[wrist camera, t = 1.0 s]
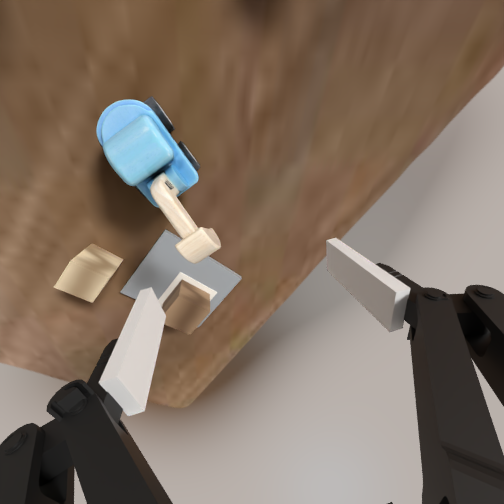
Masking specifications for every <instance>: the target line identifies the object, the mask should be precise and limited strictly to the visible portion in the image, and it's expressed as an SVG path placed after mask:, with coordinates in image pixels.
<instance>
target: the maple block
mask: <svg viewBox="0 0 504 504" xmlns="http://www.w3.org/2000/svg"><path fill="white" fill-rule="evenodd" d="M123 260H124V259H122V258H120V257H118V256H116V255H114V254H112V253H110V252H108V251H106V250H104V249H102V248H100V247H98V246H96V245H94V244H90V245H89V246H88V247H87V248H86V249H84V250H83V251H82V252H81V253H79V254H78V255H77V256H76V257H74V258H73V259H72V260H71V261H70V262H69V264H68V266H67V267H66V269H65V270H64V272H63V274H62V275H61V277H60V278H59V280H58V282H57V283H56V285H55V286H54V288H57V289H59V290H62V291H64V292H67V293H69V294H72V295H74V296H77V297H79V298H81V299H84V300H86V301H89V302H91V303H93V302H94V300H95V299H96V297H97V296H98V295H99V293H100V292H101V291H102V289H103V288H104V287H105V285H106V284H107V283H108V281H109V280H110V278H111V277H112V276H113V274H114V273H115V271H116V270H117V268H118V267H119V266H120V264H121V263H122V261H123Z"/></svg>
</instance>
